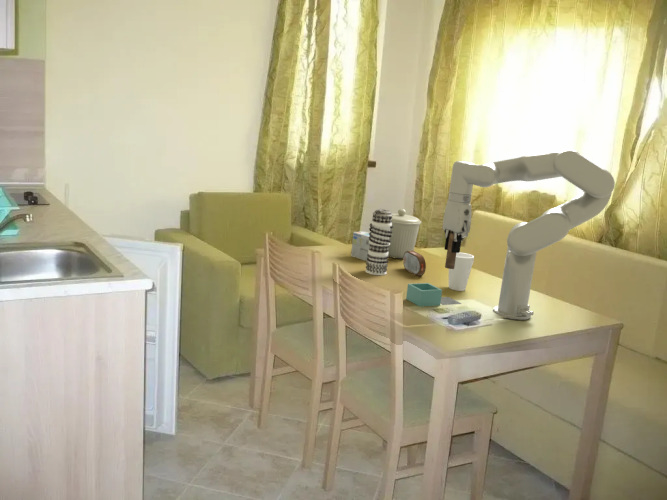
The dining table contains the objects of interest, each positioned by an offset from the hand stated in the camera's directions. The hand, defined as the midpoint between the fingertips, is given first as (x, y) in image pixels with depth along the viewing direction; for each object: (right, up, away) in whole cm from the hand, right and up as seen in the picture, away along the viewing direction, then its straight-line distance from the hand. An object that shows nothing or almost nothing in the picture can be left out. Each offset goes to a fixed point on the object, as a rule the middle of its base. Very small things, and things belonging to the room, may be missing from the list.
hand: (452, 250), depth 239 cm
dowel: (-1, -6, +1) cm, 6 cm away
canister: (-13, -3, +69) cm, 70 cm away
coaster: (-2, -18, +4) cm, 19 cm away
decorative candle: (-24, -9, +36) cm, 44 cm away
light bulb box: (-27, -4, +58) cm, 65 cm away
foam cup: (+6, -14, +24) cm, 29 cm away
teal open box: (-10, -18, 0) cm, 21 cm away
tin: (-9, -9, +42) cm, 44 cm away
